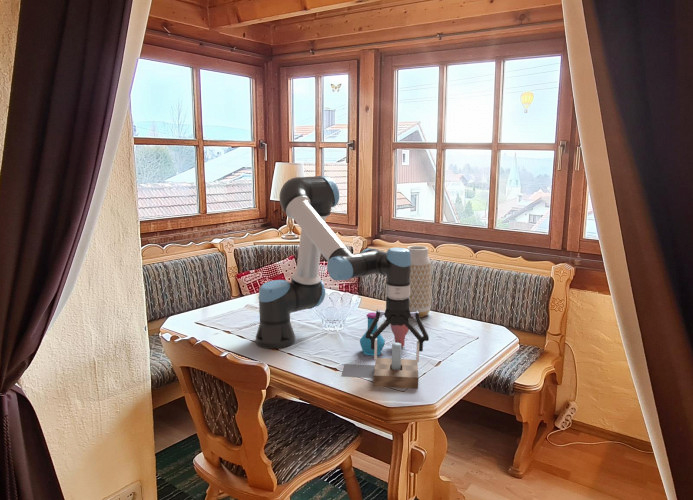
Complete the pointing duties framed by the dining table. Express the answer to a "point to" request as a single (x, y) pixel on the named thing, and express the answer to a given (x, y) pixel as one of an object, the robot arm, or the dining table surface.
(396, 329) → the light bulb
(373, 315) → the perfume bottle
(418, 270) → the vase
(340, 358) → the dining table surface
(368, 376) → the mat
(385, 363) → the hole block
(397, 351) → the peg
